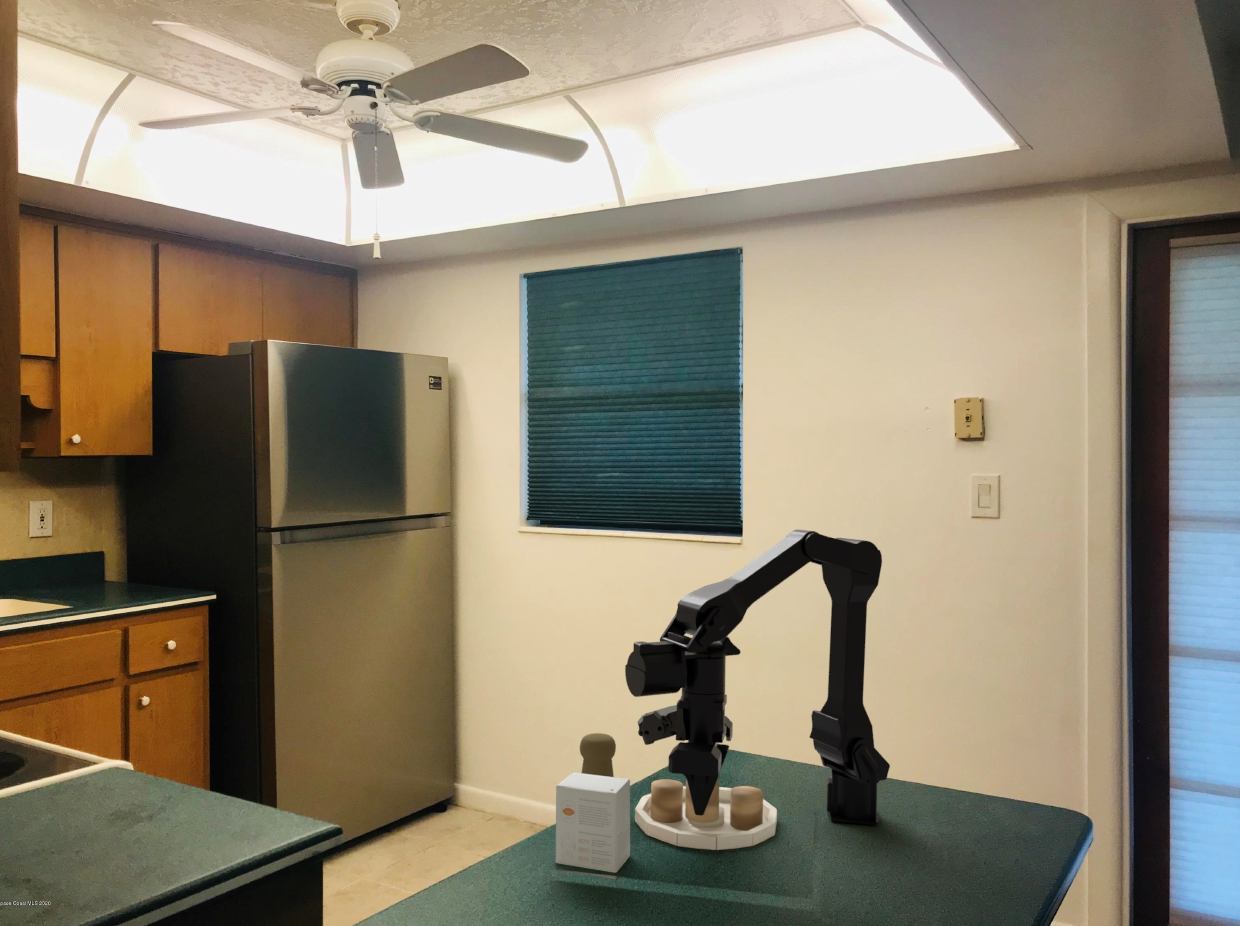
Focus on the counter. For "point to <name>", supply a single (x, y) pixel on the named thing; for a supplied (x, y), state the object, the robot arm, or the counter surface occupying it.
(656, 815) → the bead
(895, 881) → the counter surface
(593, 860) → the small box
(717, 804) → the bead
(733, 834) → the tray
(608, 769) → the cork
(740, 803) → the tan rounded piece
